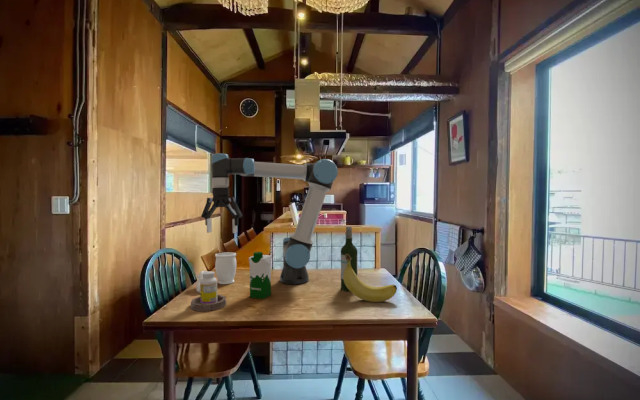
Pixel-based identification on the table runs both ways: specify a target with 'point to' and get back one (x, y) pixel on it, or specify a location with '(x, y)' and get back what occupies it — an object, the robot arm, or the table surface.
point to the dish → (200, 307)
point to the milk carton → (260, 275)
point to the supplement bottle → (208, 288)
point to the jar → (225, 267)
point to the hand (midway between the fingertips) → (222, 232)
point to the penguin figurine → (200, 276)
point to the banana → (366, 286)
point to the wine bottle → (352, 252)
